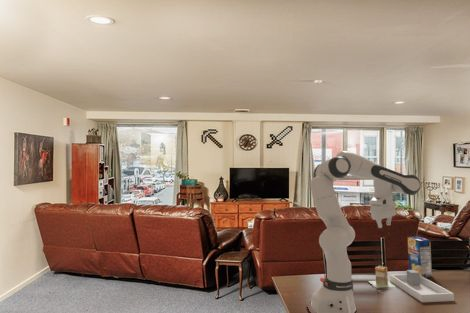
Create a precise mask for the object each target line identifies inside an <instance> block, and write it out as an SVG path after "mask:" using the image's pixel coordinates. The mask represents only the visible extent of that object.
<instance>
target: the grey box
mask: <svg viewBox="0 0 470 313" xmlns="http://www.w3.org/2000/svg"><path fill="white" fill-rule="evenodd" d="M406 274H407V283H408V284H410V285H411V286H419V285H420V275H419V272H418V271H416V270H409V269H407V270H406Z"/></svg>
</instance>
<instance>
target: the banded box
mask: <svg viewBox="0 0 470 313" xmlns="http://www.w3.org/2000/svg"><path fill="white" fill-rule="evenodd" d="M374 270H375V281H376V284H379V285H383V286H385V285H387V284H388V281H389V278H388V267H387V266H383V265H378V266H375V268H374Z"/></svg>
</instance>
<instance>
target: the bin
mask: <svg viewBox="0 0 470 313" xmlns="http://www.w3.org/2000/svg"><path fill="white" fill-rule="evenodd" d="M389 282H390V283H392V284H393V285H395V286H396V287H398V288H400V289H401V290H402V291H404V292H405V293H407V295H410V296H412V297H413V298H415V299H416V300H417V301H419V302H420V303H439V302H440V303H441V302H455V294H454V293H455V292H453V291H451V290H448V289H447V288H444V287H443V286H440V285H439V284H437V283H435V282H433V281H432V280H430V279H427V277H422V276H421V275H420V285H419V286H411V285H410V284H408V283H407V273H401V274H389Z"/></svg>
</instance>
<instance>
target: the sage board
mask: <svg viewBox="0 0 470 313" xmlns="http://www.w3.org/2000/svg"><path fill="white" fill-rule="evenodd" d="M368 282H369V283H370V284H372V285H373V286H374V287H375V288H374V289H376V290H378V289H380V288H394V287H395V288H397V285H395V284H394V283H392V282H391V281H390V280H388V284H387V285H385V286H383V285H379V284H376V280H368ZM368 282H367V283H368ZM369 283H368V284H369ZM370 284H369V285H370ZM372 285H371V286H372Z"/></svg>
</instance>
